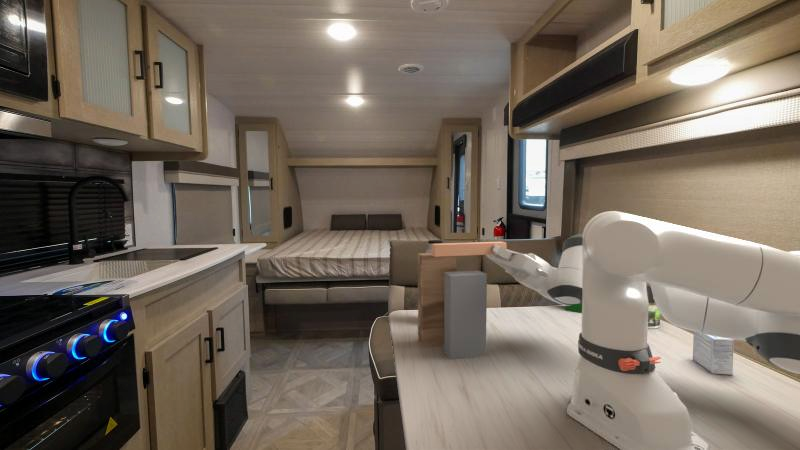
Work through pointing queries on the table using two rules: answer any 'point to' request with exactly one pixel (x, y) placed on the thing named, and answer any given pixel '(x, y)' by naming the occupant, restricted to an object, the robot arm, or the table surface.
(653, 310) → the coffee can
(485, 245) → the rail
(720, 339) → the medicine box
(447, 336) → the gray block
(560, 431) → the table surface
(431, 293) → the walnut post
